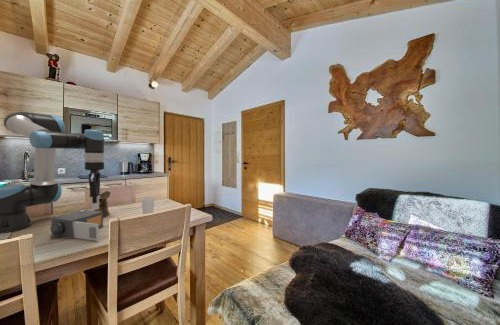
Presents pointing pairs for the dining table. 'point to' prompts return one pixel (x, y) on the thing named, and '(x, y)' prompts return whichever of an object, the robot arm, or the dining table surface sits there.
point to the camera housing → (65, 222)
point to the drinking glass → (148, 204)
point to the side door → (86, 230)
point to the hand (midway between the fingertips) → (95, 209)
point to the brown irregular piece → (104, 203)
